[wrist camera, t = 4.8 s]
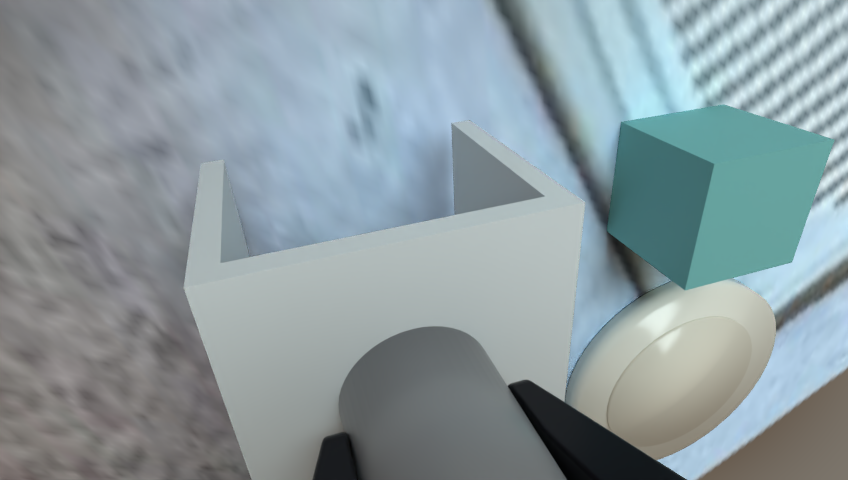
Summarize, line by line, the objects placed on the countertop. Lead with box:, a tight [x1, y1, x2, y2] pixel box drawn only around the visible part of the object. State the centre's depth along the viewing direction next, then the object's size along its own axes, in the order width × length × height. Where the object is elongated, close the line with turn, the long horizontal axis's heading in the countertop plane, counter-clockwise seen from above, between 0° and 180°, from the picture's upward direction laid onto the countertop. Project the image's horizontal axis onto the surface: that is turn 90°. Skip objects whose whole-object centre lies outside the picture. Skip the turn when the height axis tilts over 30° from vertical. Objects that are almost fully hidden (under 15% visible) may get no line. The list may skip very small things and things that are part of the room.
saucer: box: [565, 278, 776, 460], centre depth 23 cm, size 10×10×1 cm
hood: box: [184, 120, 585, 480], centre depth 10 cm, size 7×7×10 cm
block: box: [607, 105, 834, 290], centre depth 17 cm, size 4×4×4 cm
